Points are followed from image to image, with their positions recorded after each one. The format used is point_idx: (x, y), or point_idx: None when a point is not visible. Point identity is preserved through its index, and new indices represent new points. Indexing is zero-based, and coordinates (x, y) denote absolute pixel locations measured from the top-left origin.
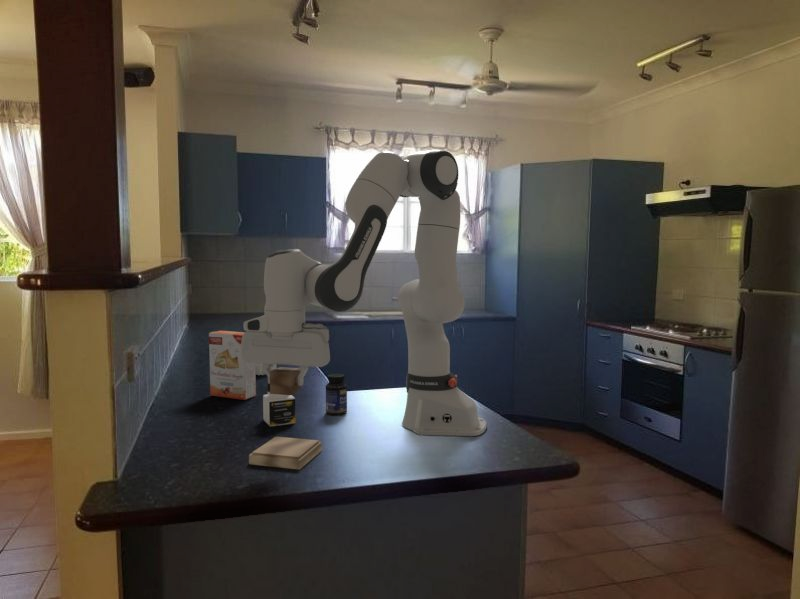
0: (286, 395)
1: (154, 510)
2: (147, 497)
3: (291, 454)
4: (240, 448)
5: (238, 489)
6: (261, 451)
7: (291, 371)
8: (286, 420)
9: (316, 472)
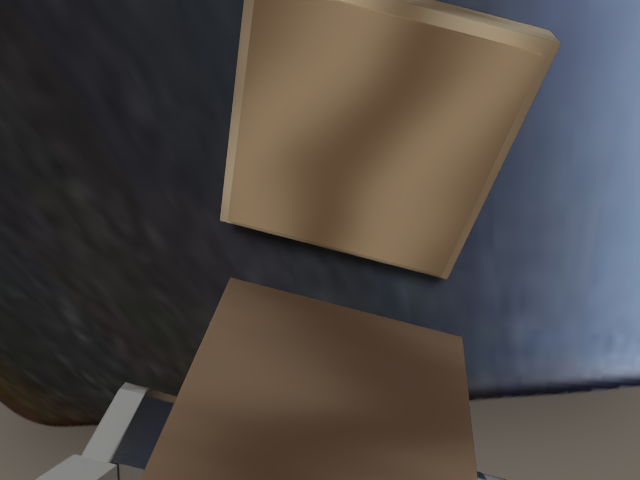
0: None
1: None
2: (82, 378)
3: (406, 250)
4: (96, 4)
5: None
6: (264, 213)
7: None
8: None
9: (511, 279)
